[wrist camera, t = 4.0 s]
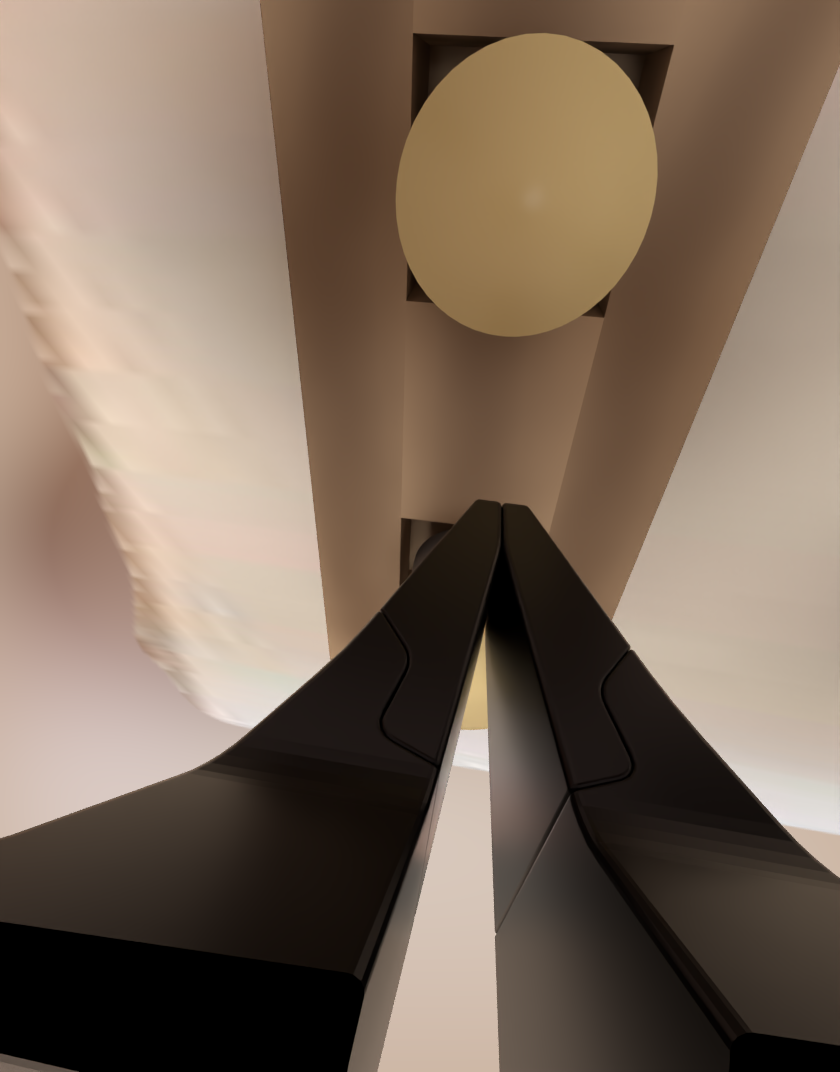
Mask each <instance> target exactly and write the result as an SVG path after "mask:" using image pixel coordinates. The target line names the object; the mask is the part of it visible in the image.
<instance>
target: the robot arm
mask: <svg viewBox="0 0 840 1072" xmlns="http://www.w3.org/2000/svg"><path fill="white" fill-rule="evenodd" d="M485 623H486V625H485ZM484 628H485V655H486V684H487V713H488V743H489V772H490V801H491V829H492V860H493V888H494V918H495V932H496V936H495V950H496V978H497V1008H498V1037H499V1064H500V1072H840V878H839V877H838V876H836V875H835V874H834V873H832V872H831V871H830V870H829V869H827V868H826V867H825V866H824V865H823V864H821V863H820V862H819V861H818V860H816V859H815V858H814V857H813V856H812V855H811V854H810V853H809V852H808V851H807V850H805V848H803V847H802V846H801V845H800V844H799V843H798V842H797V841H796V840H795V839H794V838H793V837H792V836H791V835H790V834H789V832H787V830H786V829H785V828H784V827H783V826H782V825H781V824H780V823H779V822H778V821H777V819H776V818H775V817H774V816H773V815H772V814H771V813H770V812H769V810H768V809H767V808H766V807H765V806H764V805H763V804H762V803H761V802H760V800H759V799H758V798H757V797H756V796H755V795H754V794H753V793H752V791H751V790H750V789H749V788H748V787H747V786H746V785H745V784H744V783H743V781H742V780H741V779H740V778H739V777H738V776H737V775H736V774H735V772H734V771H733V770H732V769H731V768H730V767H729V766H728V765H727V763H726V762H725V761H724V760H723V759H722V758H721V757H720V756H719V755H718V753H717V752H716V751H715V750H714V749H713V748H712V747H711V746H710V744H709V743H708V742H707V741H706V740H705V739H704V738H703V737H702V735H701V734H700V733H699V732H698V731H697V730H696V728H695V727H694V726H693V725H692V724H691V723H690V721H689V720H688V719H687V718H686V717H685V716H684V714H683V713H682V712H681V711H680V710H679V709H678V707H677V706H676V705H675V704H674V703H673V702H672V700H671V699H670V698H669V696H668V695H667V694H666V693H665V691H664V690H663V689H662V687H661V686H660V685H659V684H658V682H657V681H656V680H655V678H654V677H653V676H652V674H651V673H650V672H649V671H648V669H647V668H646V667H645V665H644V664H643V662H642V661H641V660H640V658H639V657H638V656H637V654H636V653H635V651H633V650H630V645H629V644H628V642H627V641H626V640H625V638H624V637H623V635H622V634H621V633H620V631H619V630H618V629H617V627H616V626H615V624H614V623H613V622H612V620H611V619H610V618H609V616H608V615H607V614H606V612H605V611H604V609H603V608H602V607H601V605H600V604H599V603H598V601H597V600H596V598H595V597H594V596H593V594H592V593H591V592H590V590H589V589H588V588H587V586H586V585H585V583H584V582H583V581H582V579H581V578H580V577H579V575H578V574H577V572H576V571H575V570H574V568H573V567H572V566H571V564H570V563H569V562H568V560H567V559H566V557H565V556H564V555H563V553H562V552H561V551H560V549H559V548H558V546H557V545H556V544H555V542H554V541H553V540H552V538H551V537H550V536H549V534H548V533H547V531H546V530H545V529H544V527H543V526H542V525H541V523H540V522H539V520H538V519H537V518H536V516H535V515H534V514H533V512H532V511H531V510H530V508H529V507H528V506H526V505H519V504H512V503H504V504H503V505H502V506H501V504H500V503H499V502H497V501H489V500H482V499H478V500H476V501H475V502H474V503H473V504H472V505H471V506H470V507H469V508H468V509H467V511H466V512H465V513H464V514H463V515H462V516H461V517H460V519H459V520H458V521H457V522H456V523H455V524H454V525H453V526H452V528H451V529H450V530H449V531H448V532H447V533H446V534H445V536H444V537H443V538H442V539H441V540H440V541H439V542H438V544H437V545H436V546H435V547H434V548H433V549H432V550H431V552H430V553H429V554H428V555H427V556H426V557H425V558H424V559H423V561H422V562H421V563H420V564H419V565H418V566H417V567H416V569H415V570H414V571H413V572H412V573H411V574H410V575H409V577H408V578H407V579H406V580H405V581H404V582H403V583H402V584H401V586H400V587H399V588H398V589H397V590H396V591H395V592H394V594H393V595H392V596H391V597H390V598H389V599H388V600H387V602H386V603H385V604H384V605H383V606H382V607H381V608H380V612H377V613H376V614H375V615H374V616H373V617H372V618H371V619H370V621H369V622H368V623H367V624H366V625H365V626H364V627H363V628H362V630H361V631H360V632H359V633H358V634H357V635H356V636H355V637H354V638H353V639H352V640H351V641H350V642H349V643H348V644H347V645H346V646H345V647H344V648H343V650H342V651H340V652H339V653H338V654H337V655H336V656H335V657H334V658H333V659H332V660H331V661H330V662H328V663H327V664H326V665H325V666H324V667H323V668H322V669H321V670H320V671H319V672H317V673H316V674H315V675H314V676H313V677H312V678H311V679H310V680H308V681H307V682H306V683H305V684H304V685H303V686H301V687H300V688H299V689H298V690H297V691H296V692H295V693H293V694H292V695H291V696H290V697H289V698H288V699H286V700H285V701H284V702H283V703H282V704H281V705H280V706H278V707H277V708H276V709H275V710H274V711H273V712H271V713H270V714H269V715H268V716H267V717H266V718H265V719H263V720H262V721H261V722H260V723H259V724H258V725H256V726H255V727H254V728H253V729H252V730H251V731H249V732H248V733H247V734H246V735H245V736H244V737H242V738H241V739H240V740H239V741H238V742H237V743H235V744H234V745H233V746H231V747H230V748H228V749H227V750H226V751H224V752H223V753H221V754H220V755H218V756H216V757H215V758H213V759H212V760H210V761H208V762H206V763H205V764H203V765H201V766H199V767H197V768H195V769H193V770H191V771H188V772H185V773H183V774H180V775H177V776H174V777H171V778H169V779H166V780H163V781H160V782H158V783H155V784H152V785H149V786H146V787H144V788H141V789H138V790H136V791H133V792H130V793H127V794H124V795H121V796H119V797H116V798H113V799H110V800H108V801H105V802H102V803H99V804H97V805H94V806H91V807H88V808H86V809H83V810H80V811H77V812H74V813H71V814H69V815H66V816H63V817H61V818H57V819H55V820H52V821H49V822H46V823H44V824H41V825H38V826H35V827H33V828H30V829H27V830H24V831H21V832H19V833H16V834H13V835H10V836H6V837H3V838H0V1072H377V1069H378V1066H379V1062H380V1058H381V1054H382V1049H383V1045H384V1041H385V1037H386V1033H387V1029H388V1025H389V1020H390V1017H391V1012H392V1008H393V1004H394V1000H395V996H396V992H397V988H398V984H399V980H400V976H401V971H402V967H403V963H404V959H405V955H406V951H407V946H408V943H409V939H410V934H411V930H412V926H413V922H414V916H415V914H416V910H417V906H418V901H419V897H420V893H421V889H422V885H423V881H424V877H425V873H426V869H427V864H428V860H429V856H430V852H431V848H432V844H433V840H434V835H435V831H436V828H437V823H438V819H439V815H440V811H441V807H442V803H443V799H444V795H445V790H446V787H447V782H448V778H449V774H450V770H451V766H452V762H453V758H454V754H455V750H456V745H457V741H458V737H459V733H460V729H461V725H462V721H463V717H464V713H465V708H466V704H467V700H468V696H469V692H470V688H471V684H472V680H473V676H474V671H475V667H476V663H477V659H478V655H479V651H480V647H481V643H482V638H483V633H484Z"/></svg>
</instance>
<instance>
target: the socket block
mask: <svg viewBox="0 0 840 1072" xmlns="http://www.w3.org/2000/svg"><path fill="white" fill-rule="evenodd" d="M260 6H261V15H262V25H263V34H264V43H265V53H266V62H267V72H268V81H269V90H270V100H271V109H272V118H273V128H274V137H275V146H276V156H277V165H278V175H279V184H280V193H281V203H282V212H283V221H284V231H285V240H286V249H287V259H288V268H289V278H290V287H291V296H292V306H293V315H294V324H295V334H296V343H297V352H298V362H299V371H300V381H301V390H302V399H303V409H304V418H305V427H306V437H307V446H308V455H309V465H310V474H311V484H312V493H313V502H314V512H315V521H316V530H317V540H318V549H319V558H320V568H321V577H322V587H323V596H324V605H325V615H326V624H327V633H328V643H329V652H330V660H332V659H333V658H334V657H335V656H336V655H337V654H338V653H339V652H340V651H342V650H343V648H344V647H345V646H346V645H347V644H348V643H349V642H350V641H351V640H352V639H353V638H354V637H355V636H356V635H357V634H358V633H359V632H360V631H361V630H362V628H363V627H364V626H365V625H366V624H367V623H368V622H369V621H370V619H371V618H372V617H373V616H374V615H375V614H376V613H377V612H380V608H381V607H382V606H383V605H384V604H385V603H386V602H387V600H388V599H389V598H390V597H391V596H392V595H393V594H394V592H395V591H396V590H397V589H398V588H399V587H400V586H401V584H402V583H403V582H404V581H405V580H406V579H407V578H408V577H409V575H410V574H411V573H412V568H413V564H414V559H415V556H416V553H417V551H418V549H419V548H420V547H421V545H422V544H423V543H424V542H425V541H426V540H428V539H429V538H430V537H432V536H434V535H436V534H438V533H440V532H443V531H446V530H450V529H451V528H452V526H453V525H454V524H455V523H456V522H457V521H458V520H459V519H460V517H461V516H462V515H463V514H464V513H465V512H466V511H467V509H468V508H469V507H470V506H471V505H472V504H473V503H474V502H475V501H476V500H478V499H482V500H489V501H497V502H499V503H500V504H501V506H502V505H503V504H504V503H512V504H519V505H526V506H528V507H529V508H530V510H531V511H532V512H533V514H534V515H535V516H536V518H537V519H538V520H539V522H540V523H541V525H542V526H543V527H544V529H545V530H546V531H547V533H548V534H549V536H550V537H551V538H552V540H553V541H554V542H555V544H556V545H557V546H558V548H559V549H560V551H561V552H562V553H563V555H564V556H565V557H566V559H567V560H568V562H569V563H570V564H571V566H572V567H573V568H574V570H575V571H576V572H577V574H578V575H579V577H580V578H581V579H582V581H583V582H584V583H585V585H586V586H587V588H588V589H589V590H590V592H591V593H592V594H593V596H594V597H595V598H596V600H597V601H598V603H599V604H600V605H601V607H602V608H603V609H604V611H605V612H606V614H607V615H608V616H609V618H610V619H611V620H612V618H613V616H614V613H615V611H616V608H617V606H618V603H619V601H620V598H621V596H622V594H623V591H624V589H625V586H626V584H627V581H628V579H629V577H630V574H631V572H632V569H633V567H634V564H635V562H636V559H637V557H638V555H639V552H640V550H641V547H642V545H643V542H644V540H645V538H646V535H647V533H648V530H649V528H650V525H651V523H652V520H653V518H654V516H655V513H656V511H657V508H658V506H659V503H660V501H661V499H662V496H663V494H664V491H665V489H666V486H667V484H668V481H669V479H670V477H671V474H672V472H673V469H674V467H675V464H676V462H677V460H678V457H679V455H680V452H681V450H682V447H683V445H684V442H685V440H686V438H687V435H688V433H689V430H690V428H691V425H692V423H693V421H694V418H695V416H696V413H697V411H698V408H699V406H700V403H701V401H702V399H703V396H704V394H705V391H706V389H707V386H708V384H709V382H710V379H711V377H712V374H713V372H714V369H715V367H716V364H717V362H718V360H719V357H720V355H721V352H722V350H723V347H724V345H725V343H726V340H727V338H728V335H729V333H730V330H731V328H732V325H733V323H734V321H735V318H736V316H737V313H738V311H739V308H740V306H741V304H742V301H743V299H744V296H745V294H746V291H747V289H748V286H749V284H750V282H751V279H752V277H753V274H754V272H755V269H756V267H757V265H758V262H759V260H760V257H761V255H762V252H763V250H764V247H765V245H766V243H767V240H768V238H769V235H770V233H771V230H772V228H773V226H774V223H775V221H776V218H777V216H778V213H779V211H780V208H781V206H782V204H783V201H784V199H785V196H786V194H787V191H788V189H789V187H790V184H791V182H792V179H793V177H794V174H795V172H796V169H797V167H798V165H799V162H800V160H801V157H802V155H803V152H804V150H805V148H806V145H807V143H808V140H809V138H810V135H811V133H812V130H813V128H814V126H815V123H816V121H817V118H818V116H819V113H820V111H821V109H822V106H823V104H824V101H825V99H826V96H827V94H828V91H829V89H830V87H831V84H832V82H833V79H834V77H835V74H836V72H837V70H838V67H839V65H840V0H260ZM534 33H549V34H557V35H564V36H568V37H571V38H574V39H577V40H580V41H583V42H585V43H587V44H589V45H591V46H592V47H594V48H596V49H598V50H600V51H601V52H603V53H604V54H605V55H606V56H608V57H609V58H610V59H611V60H613V61H614V62H615V63H616V64H617V65H618V66H619V67H620V68H621V69H622V71H623V72H624V73H625V74H626V75H627V76H628V77H629V78H630V80H631V82H632V83H633V85H634V86H635V88H636V90H637V91H638V93H639V94H640V96H641V98H642V100H643V103H644V105H645V107H646V110H647V112H648V114H649V117H650V121H651V125H652V128H653V132H654V136H655V143H656V150H657V171H658V177H657V187H656V197H655V201H654V206H653V211H652V215H651V219H650V222H649V225H648V228H647V231H646V234H645V236H644V239H643V241H642V243H641V245H640V247H639V249H638V252H637V254H636V255H635V257H634V259H633V260H632V262H631V264H630V265H629V267H628V269H627V270H626V272H625V273H624V274H623V276H622V277H621V278H620V280H619V281H618V282H617V284H616V285H615V286H614V287H613V288H612V289H611V290H610V291H609V292H608V294H607V295H606V296H605V297H604V298H603V299H602V300H600V301H599V302H598V303H597V304H596V305H595V306H593V307H592V308H591V309H590V310H588V311H587V312H585V313H584V314H582V315H581V316H579V317H578V318H576V319H575V320H573V321H571V322H569V323H567V324H565V325H563V326H561V327H558V328H555V329H553V330H550V331H547V332H543V333H539V334H535V335H529V336H520V337H506V336H497V335H491V334H486V333H483V332H480V331H476V330H474V329H471V328H469V327H467V326H465V325H462V324H461V323H459V322H457V321H456V320H454V319H453V318H451V317H449V316H448V315H447V314H446V313H445V312H443V311H442V310H441V309H440V308H438V307H437V306H436V305H435V303H434V302H433V301H432V300H431V299H430V298H429V297H428V296H427V295H426V293H425V292H424V290H423V289H422V288H421V286H420V285H419V284H418V282H417V280H416V278H415V276H414V275H413V273H412V271H411V269H410V267H409V264H408V262H407V259H406V257H405V255H404V252H403V248H402V244H401V241H400V237H399V231H398V225H397V219H396V185H397V176H398V171H399V165H400V160H401V156H402V153H403V149H404V146H405V143H406V139H407V137H408V135H409V132H410V130H411V128H412V125H413V123H414V121H415V119H416V117H417V115H418V114H419V112H420V110H421V108H422V106H423V105H424V103H425V101H426V100H427V99H428V97H429V96H430V95H431V93H432V92H433V91H434V89H435V88H436V86H437V85H438V84H439V83H440V82H441V81H442V80H443V79H444V78H445V77H446V76H447V75H448V74H449V73H450V71H451V70H452V69H454V68H455V67H456V66H457V65H459V64H460V63H461V62H462V61H464V60H465V59H466V58H467V57H469V56H470V55H472V54H474V53H476V52H477V51H479V50H481V49H482V48H484V47H486V46H488V45H490V44H493V43H495V42H498V41H500V40H503V39H505V38H509V37H514V36H518V35H523V34H534Z"/></svg>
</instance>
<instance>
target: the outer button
mask: <svg viewBox="0 0 840 1072" xmlns="http://www.w3.org/2000/svg"><path fill="white" fill-rule="evenodd" d="M657 177H658V171H657V150H656V143H655V136H654V132H653V128H652V125H651V121H650V117H649V114H648V112H647V110H646V107H645V105H644V103H643V100H642V98H641V96H640V94H639V93H638V91H637V90H636V88H635V86H634V85H633V83H632V82H631V80H630V78H629V77H628V76H627V75H626V74H625V73H624V72H623V71H622V69H621V68H620V67H619V66H618V65H617V64H616V63H615V62H614V61H613V60H611V59H610V58H609V57H608V56H606V55H605V54H604V53H603V52H601V51H600V50H598V49H596V48H594V47H592V46H591V45H589V44H587V43H585V42H583V41H580V40H577V39H574V38H571V37H568V36H564V35H557V34H549V33H534V34H523V35H518V36H514V37H509V38H505V39H503V40H500V41H498V42H495V43H493V44H490V45H488V46H486V47H484V48H482V49H481V50H479V51H477V52H476V53H474V54H472V55H470V56H469V57H467V58H466V59H465V60H464V61H462V62H461V63H460V64H459V65H457V66H456V67H455V68H454V69H452V70H451V71H450V73H449V74H448V75H447V76H446V77H445V78H444V79H443V80H442V81H441V82H440V83H439V84H438V85H437V86H436V88H435V89H434V91H433V92H432V93H431V95H430V96H429V97H428V99H427V100H426V101H425V103H424V105H423V106H422V108H421V110H420V112H419V114H418V115H417V117H416V119H415V121H414V123H413V125H412V128H411V130H410V132H409V135H408V137H407V139H406V143H405V146H404V149H403V153H402V156H401V160H400V165H399V171H398V176H397V185H396V219H397V225H398V231H399V237H400V241H401V244H402V248H403V252H404V255H405V257H406V259H407V262H408V264H409V267H410V269H411V271H412V273H413V275H414V276H415V278H416V280H417V282H418V284H419V285H420V286H421V288H422V289H423V290H424V292H425V293H426V295H427V296H428V297H429V298H430V299H431V300H432V301H433V302H434V303H435V305H436V306H437V307H438V308H440V309H441V310H442V311H443V312H445V313H446V314H447V315H448V316H449V317H451V318H453V319H454V320H456V321H457V322H459V323H461V324H462V325H465V326H467V327H469V328H471V329H474V330H476V331H480V332H483V333H486V334H491V335H497V336H506V337H520V336H529V335H535V334H539V333H543V332H547V331H550V330H553V329H555V328H558V327H561V326H563V325H565V324H567V323H569V322H571V321H573V320H575V319H576V318H578V317H579V316H581V315H582V314H584V313H585V312H587V311H588V310H590V309H591V308H592V307H593V306H595V305H596V304H597V303H598V302H599V301H600V300H602V299H603V298H604V297H605V296H606V295H607V294H608V292H609V291H610V290H611V289H612V288H613V287H614V286H615V285H616V284H617V282H618V281H619V280H620V278H621V277H622V276H623V274H624V273H625V272H626V270H627V269H628V267H629V265H630V264H631V262H632V260H633V259H634V257H635V255H636V254H637V252H638V249H639V247H640V245H641V243H642V241H643V239H644V236H645V234H646V231H647V228H648V225H649V222H650V219H651V215H652V211H653V206H654V201H655V197H656V187H657Z"/></svg>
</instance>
